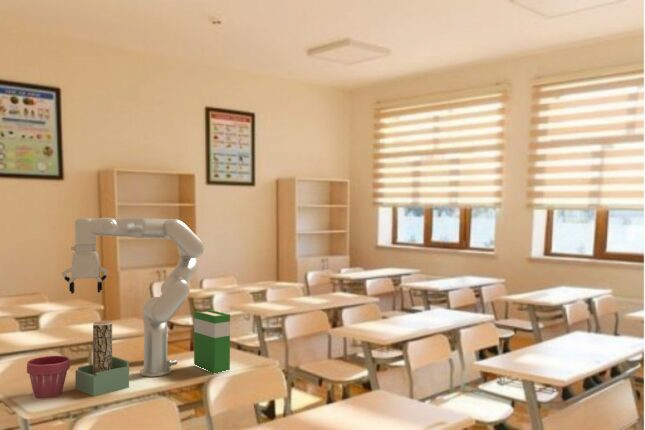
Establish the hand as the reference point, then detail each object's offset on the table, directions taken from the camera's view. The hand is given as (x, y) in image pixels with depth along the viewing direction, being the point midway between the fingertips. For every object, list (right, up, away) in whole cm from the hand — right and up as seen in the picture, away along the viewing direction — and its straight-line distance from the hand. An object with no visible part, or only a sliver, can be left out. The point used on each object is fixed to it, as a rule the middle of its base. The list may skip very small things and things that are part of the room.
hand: (85, 292), depth 212 cm
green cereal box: (+45, -36, +22) cm, 62 cm away
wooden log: (+9, -36, -7) cm, 38 cm away
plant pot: (-7, -35, -15) cm, 39 cm away
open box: (+9, -35, -7) cm, 37 cm away
